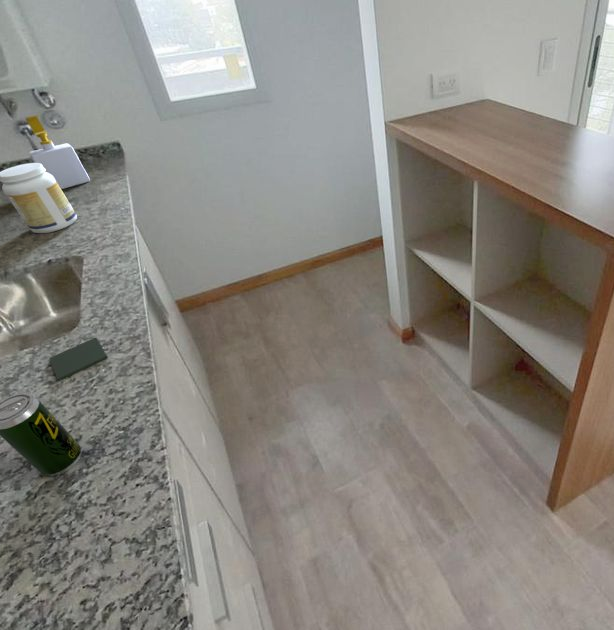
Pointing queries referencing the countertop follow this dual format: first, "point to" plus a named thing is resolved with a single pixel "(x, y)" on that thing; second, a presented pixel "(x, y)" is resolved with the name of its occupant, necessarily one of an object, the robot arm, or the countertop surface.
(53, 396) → the countertop surface
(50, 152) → the soap bottle
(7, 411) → the beer can
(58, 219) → the supplement tub
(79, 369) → the coaster
